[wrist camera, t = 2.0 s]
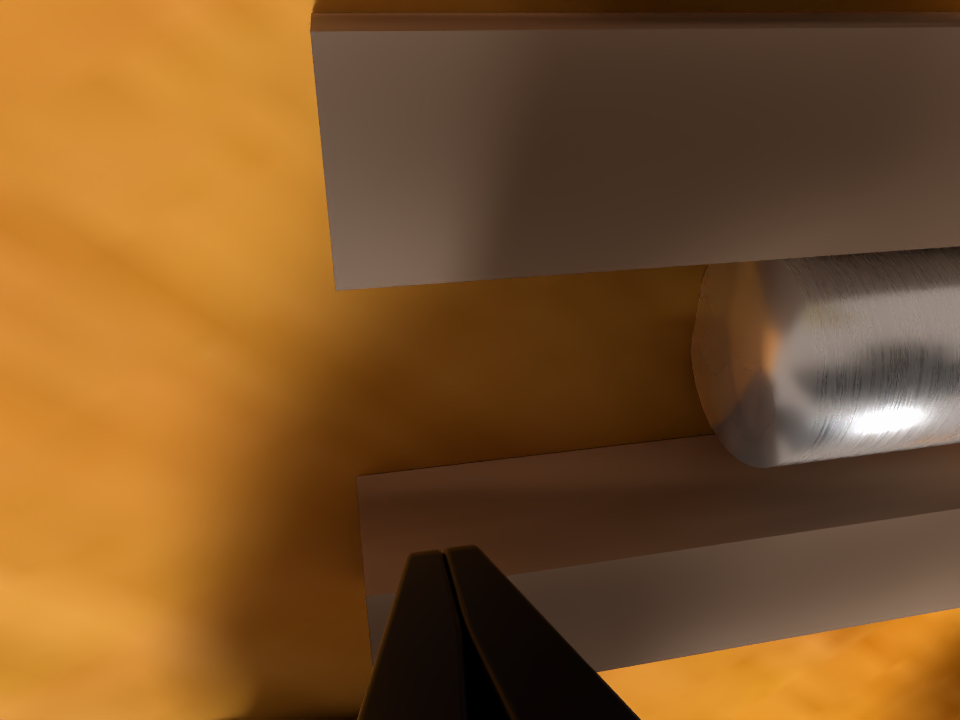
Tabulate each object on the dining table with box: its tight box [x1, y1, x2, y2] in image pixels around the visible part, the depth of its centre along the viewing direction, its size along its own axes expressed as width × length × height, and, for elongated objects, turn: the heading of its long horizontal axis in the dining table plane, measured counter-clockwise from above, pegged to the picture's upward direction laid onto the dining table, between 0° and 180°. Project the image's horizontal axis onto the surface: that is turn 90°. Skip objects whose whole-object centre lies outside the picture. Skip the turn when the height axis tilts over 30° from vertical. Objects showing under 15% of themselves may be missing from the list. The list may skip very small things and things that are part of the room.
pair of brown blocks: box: [310, 12, 960, 672], centre depth 13 cm, size 12×14×3 cm
